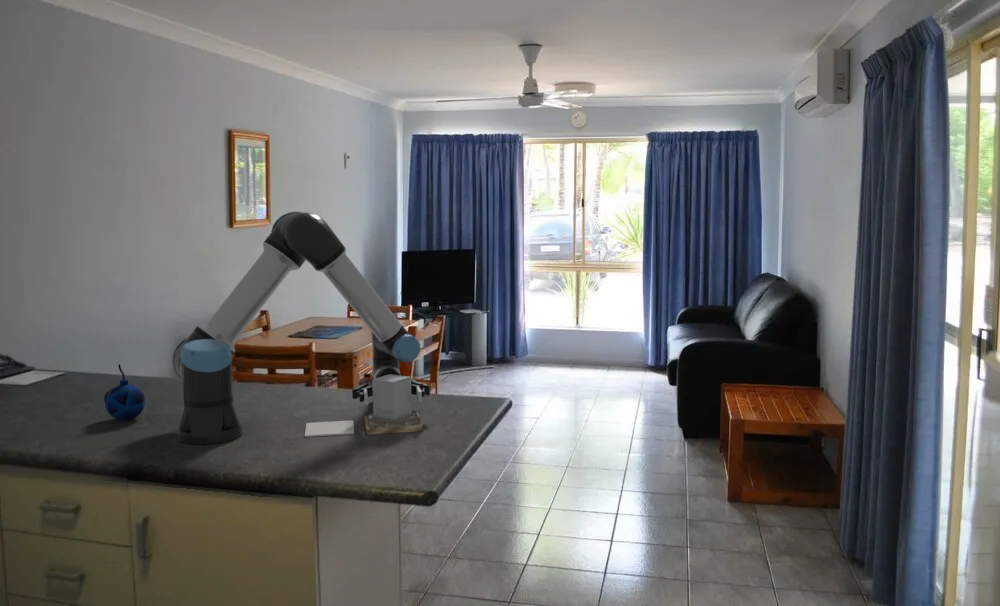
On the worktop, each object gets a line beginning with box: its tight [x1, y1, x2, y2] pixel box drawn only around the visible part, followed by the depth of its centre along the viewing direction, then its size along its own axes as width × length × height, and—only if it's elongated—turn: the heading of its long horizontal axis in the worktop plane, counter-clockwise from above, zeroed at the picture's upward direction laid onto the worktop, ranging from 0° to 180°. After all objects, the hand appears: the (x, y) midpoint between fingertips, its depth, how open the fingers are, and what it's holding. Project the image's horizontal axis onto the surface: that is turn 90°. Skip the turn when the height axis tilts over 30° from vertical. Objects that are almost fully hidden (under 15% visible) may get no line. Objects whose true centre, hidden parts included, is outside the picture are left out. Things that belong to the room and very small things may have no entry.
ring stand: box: [364, 410, 424, 435], centre depth 220 cm, size 14×14×3 cm
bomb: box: [103, 363, 146, 422], centre depth 228 cm, size 10×11×15 cm
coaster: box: [304, 419, 355, 438], centre depth 217 cm, size 12×12×1 cm
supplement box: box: [371, 374, 413, 427], centre depth 220 cm, size 7×7×13 cm
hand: (393, 398), depth 217 cm, fingers open, 13 cm apart
